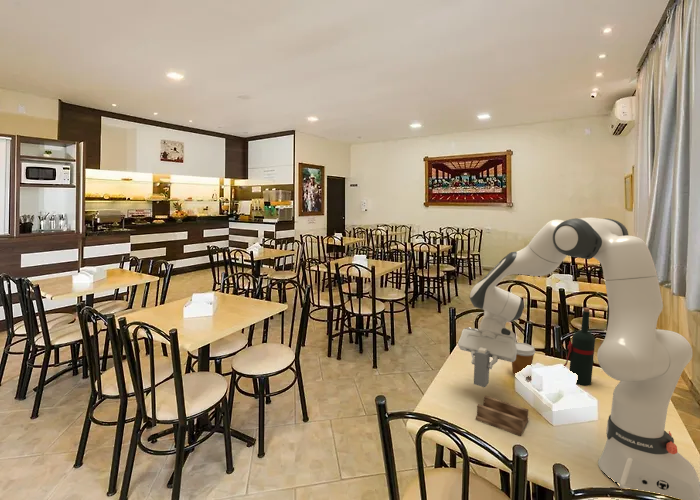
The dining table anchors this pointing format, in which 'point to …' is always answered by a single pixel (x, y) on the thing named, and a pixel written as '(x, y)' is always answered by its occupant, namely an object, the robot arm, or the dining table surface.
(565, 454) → the dining table surface
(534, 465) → the dining table surface
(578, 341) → the wine bottle
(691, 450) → the dining table surface
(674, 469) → the robot arm
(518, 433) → the wooden card holder
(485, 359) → the post
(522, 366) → the disposable coffee cup
